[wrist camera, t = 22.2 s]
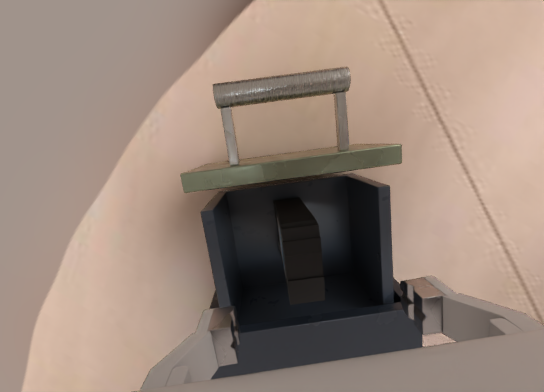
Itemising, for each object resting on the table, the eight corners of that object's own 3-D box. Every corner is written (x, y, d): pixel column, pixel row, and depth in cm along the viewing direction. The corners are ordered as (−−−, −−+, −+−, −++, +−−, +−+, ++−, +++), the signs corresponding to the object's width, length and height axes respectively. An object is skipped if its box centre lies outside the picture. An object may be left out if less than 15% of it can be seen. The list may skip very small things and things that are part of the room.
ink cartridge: (272, 198, 22) (279, 229, 14) (299, 195, 22) (320, 224, 14) (278, 251, 23) (288, 307, 15) (303, 248, 23) (326, 303, 15)
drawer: (195, 105, 21) (161, 86, 14) (353, 84, 21) (400, 55, 14) (229, 291, 25) (216, 351, 18) (364, 272, 25) (406, 324, 18)
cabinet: (221, 269, 25) (199, 339, 16) (365, 249, 25) (422, 306, 16) (242, 381, 28) (233, 492, 19) (372, 362, 28) (423, 463, 19)
